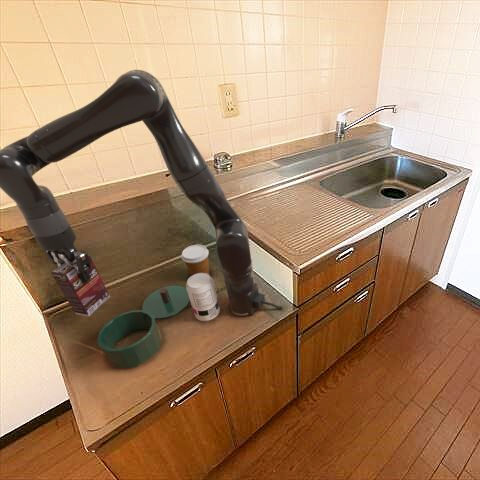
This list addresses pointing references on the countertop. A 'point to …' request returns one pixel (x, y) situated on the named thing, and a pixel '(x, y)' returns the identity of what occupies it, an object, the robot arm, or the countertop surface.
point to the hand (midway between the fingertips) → (79, 278)
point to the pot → (138, 350)
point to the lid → (166, 301)
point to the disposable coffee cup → (196, 259)
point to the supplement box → (81, 289)
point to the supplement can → (203, 296)
